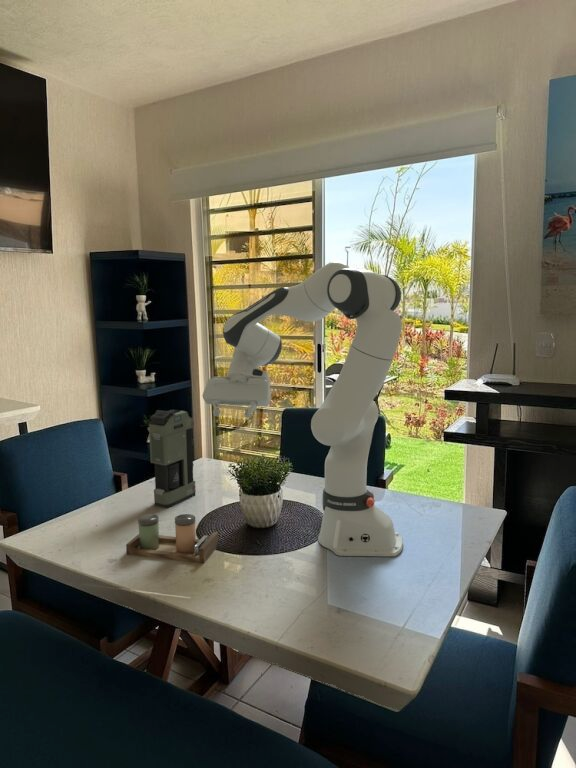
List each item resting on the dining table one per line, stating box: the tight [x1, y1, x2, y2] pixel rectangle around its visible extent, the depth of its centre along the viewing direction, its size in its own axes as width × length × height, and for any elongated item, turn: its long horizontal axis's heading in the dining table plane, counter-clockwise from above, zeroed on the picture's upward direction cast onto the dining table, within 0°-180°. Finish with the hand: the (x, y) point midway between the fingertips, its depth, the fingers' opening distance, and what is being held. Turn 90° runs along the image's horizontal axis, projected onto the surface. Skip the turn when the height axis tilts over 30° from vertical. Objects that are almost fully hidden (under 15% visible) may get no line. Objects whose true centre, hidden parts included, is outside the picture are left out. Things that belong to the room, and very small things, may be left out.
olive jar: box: [137, 514, 160, 550], centre depth 142 cm, size 5×5×8 cm
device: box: [148, 409, 196, 509], centre depth 175 cm, size 14×8×30 cm, turn 150°
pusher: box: [194, 535, 209, 555], centre depth 139 cm, size 2×6×3 cm, turn 167°
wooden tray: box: [125, 531, 219, 564], centre depth 141 cm, size 21×10×4 cm, turn 77°
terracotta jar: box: [174, 513, 197, 554], centre depth 139 cm, size 5×5×9 cm
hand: (231, 415), depth 157 cm, fingers open, 8 cm apart
